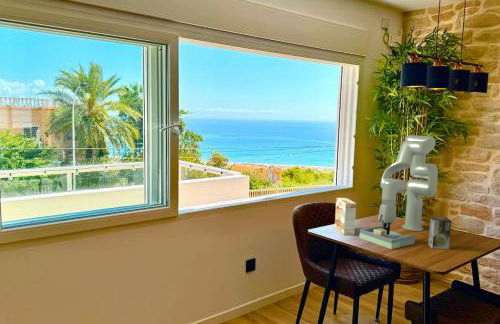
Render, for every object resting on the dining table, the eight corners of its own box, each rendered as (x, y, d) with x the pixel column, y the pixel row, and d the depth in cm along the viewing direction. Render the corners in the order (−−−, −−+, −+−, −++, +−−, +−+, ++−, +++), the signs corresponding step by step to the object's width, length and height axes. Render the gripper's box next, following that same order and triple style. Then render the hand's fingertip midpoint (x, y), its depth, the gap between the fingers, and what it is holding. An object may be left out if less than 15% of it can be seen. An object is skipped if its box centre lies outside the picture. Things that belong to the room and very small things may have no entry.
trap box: (382, 233, 239) (382, 225, 239) (414, 243, 221) (415, 235, 220) (359, 237, 229) (360, 229, 228) (391, 249, 210) (391, 240, 210)
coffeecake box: (334, 228, 247) (335, 197, 244) (344, 228, 248) (346, 197, 246) (343, 235, 232) (345, 203, 230) (354, 235, 233) (356, 203, 231)
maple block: (379, 235, 225) (379, 228, 224) (386, 237, 221) (386, 230, 220) (373, 236, 222) (373, 229, 222) (380, 238, 218) (380, 231, 218)
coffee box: (444, 245, 219) (447, 217, 217) (449, 249, 213) (452, 220, 211) (427, 244, 220) (430, 216, 218) (431, 248, 214) (434, 219, 212)
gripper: (391, 199, 229) (389, 230, 231) (374, 202, 221) (372, 234, 223) (402, 202, 223) (400, 234, 225) (385, 205, 215) (382, 237, 217)
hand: (386, 233), depth 224 cm, fingers closed
